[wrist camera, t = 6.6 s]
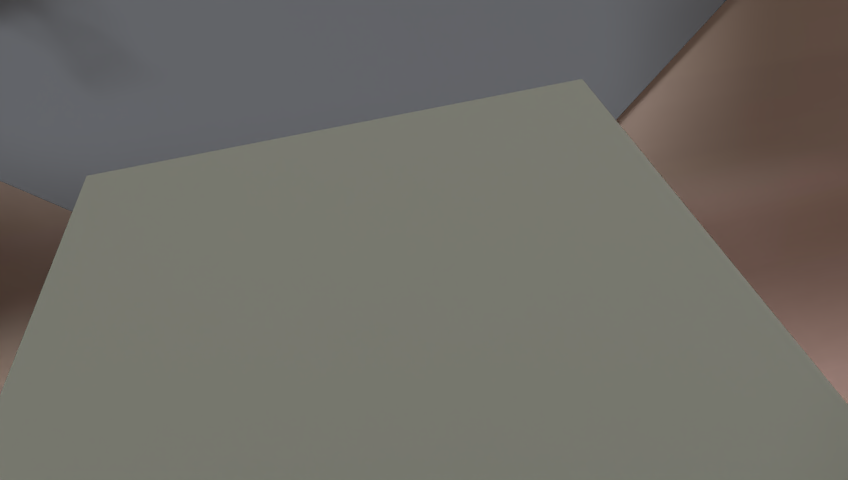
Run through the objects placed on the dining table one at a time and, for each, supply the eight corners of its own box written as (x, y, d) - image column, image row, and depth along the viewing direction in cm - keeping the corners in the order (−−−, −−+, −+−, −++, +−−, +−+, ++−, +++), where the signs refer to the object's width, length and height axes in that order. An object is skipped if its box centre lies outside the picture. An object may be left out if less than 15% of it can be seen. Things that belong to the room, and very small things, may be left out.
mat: (399, 339, 26) (401, 351, 25) (-108, 119, 18) (-118, 131, 18) (748, -43, 20) (759, -37, 19) (195, -615, 12) (192, -627, 12)
